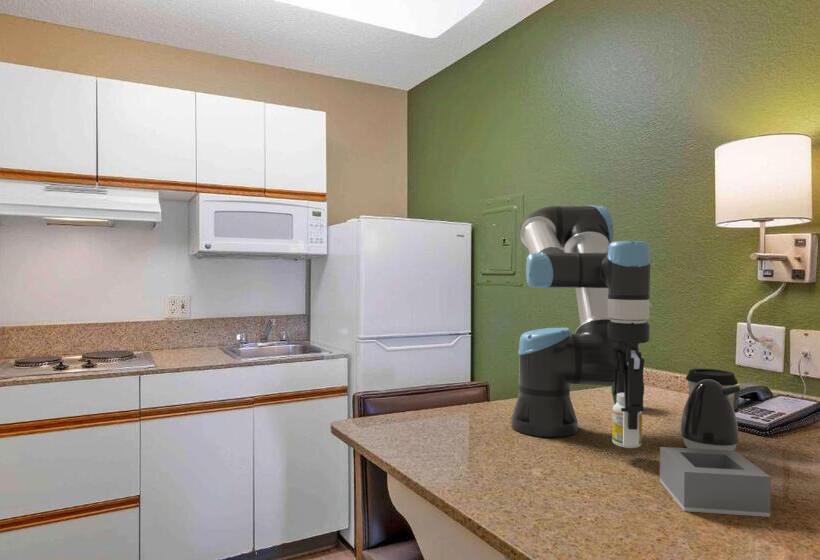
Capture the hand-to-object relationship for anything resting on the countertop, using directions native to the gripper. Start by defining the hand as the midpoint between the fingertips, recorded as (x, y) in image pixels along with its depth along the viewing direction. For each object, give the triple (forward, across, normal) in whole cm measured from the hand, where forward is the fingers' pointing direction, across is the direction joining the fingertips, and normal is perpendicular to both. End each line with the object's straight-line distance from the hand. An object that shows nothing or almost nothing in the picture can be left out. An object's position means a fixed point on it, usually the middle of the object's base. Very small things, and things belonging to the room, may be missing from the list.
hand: (626, 439), depth 104 cm
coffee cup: (+4, +15, -21) cm, 26 cm away
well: (+4, -17, -9) cm, 19 cm away
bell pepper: (+5, +42, -10) cm, 44 cm away
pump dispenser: (+4, +5, -17) cm, 18 cm away
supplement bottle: (+1, 0, 0) cm, 1 cm away
